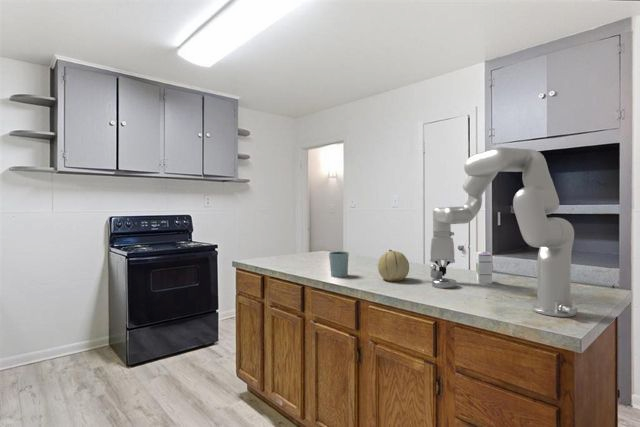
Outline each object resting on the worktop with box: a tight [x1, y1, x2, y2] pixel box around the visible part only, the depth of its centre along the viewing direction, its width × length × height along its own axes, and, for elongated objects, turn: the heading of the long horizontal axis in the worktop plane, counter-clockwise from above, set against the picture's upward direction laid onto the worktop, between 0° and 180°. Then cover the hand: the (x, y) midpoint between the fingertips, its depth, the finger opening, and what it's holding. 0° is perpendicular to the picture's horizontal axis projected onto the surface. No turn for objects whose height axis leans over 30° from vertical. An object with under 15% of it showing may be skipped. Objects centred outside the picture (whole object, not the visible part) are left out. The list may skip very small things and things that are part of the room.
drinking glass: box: [328, 251, 349, 278], centre depth 193 cm, size 10×10×12 cm
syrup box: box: [475, 251, 493, 285], centre depth 169 cm, size 6×6×14 cm
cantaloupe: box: [377, 249, 410, 282], centre depth 177 cm, size 15×15×15 cm
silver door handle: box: [430, 263, 457, 290], centre depth 165 cm, size 17×10×8 cm, turn 8°
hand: (442, 275), depth 170 cm, fingers closed
